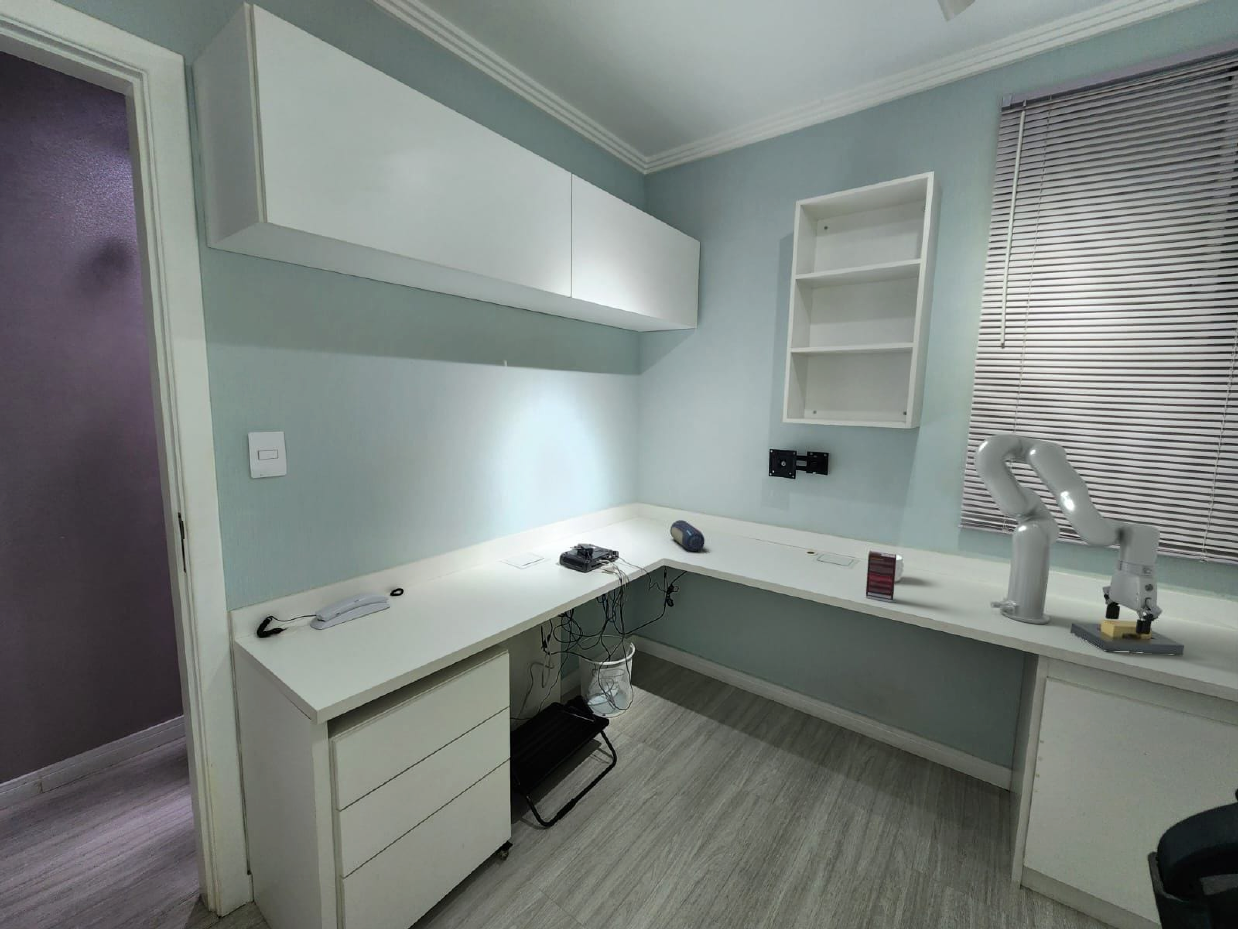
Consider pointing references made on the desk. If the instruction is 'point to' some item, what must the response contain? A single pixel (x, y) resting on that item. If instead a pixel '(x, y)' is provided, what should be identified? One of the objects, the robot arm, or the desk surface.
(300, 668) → the desk surface
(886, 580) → the supplement box
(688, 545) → the portable speaker
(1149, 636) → the yellow u-shaped block
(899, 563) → the mug
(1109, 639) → the grey slotted board
